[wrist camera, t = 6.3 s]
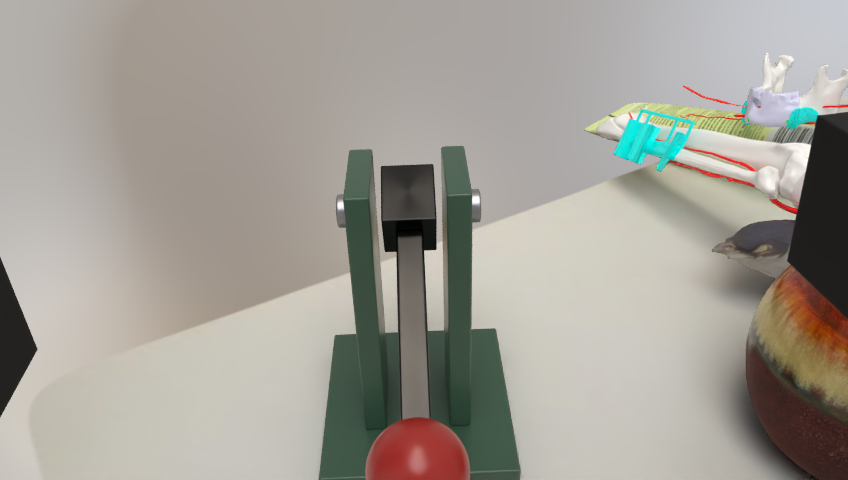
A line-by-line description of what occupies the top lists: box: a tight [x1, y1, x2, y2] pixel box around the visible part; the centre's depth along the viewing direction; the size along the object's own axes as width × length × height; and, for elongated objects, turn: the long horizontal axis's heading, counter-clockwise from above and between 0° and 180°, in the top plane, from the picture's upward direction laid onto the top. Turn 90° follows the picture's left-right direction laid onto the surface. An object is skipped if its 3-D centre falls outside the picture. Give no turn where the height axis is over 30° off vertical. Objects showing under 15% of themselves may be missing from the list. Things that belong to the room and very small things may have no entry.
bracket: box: [319, 146, 520, 480], centre depth 34 cm, size 10×9×14 cm
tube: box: [583, 103, 815, 171], centre depth 60 cm, size 6×5×20 cm
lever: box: [365, 164, 470, 480], centre depth 28 cm, size 14×4×4 cm, turn 2°
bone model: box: [596, 53, 848, 214], centre depth 51 cm, size 25×19×10 cm
